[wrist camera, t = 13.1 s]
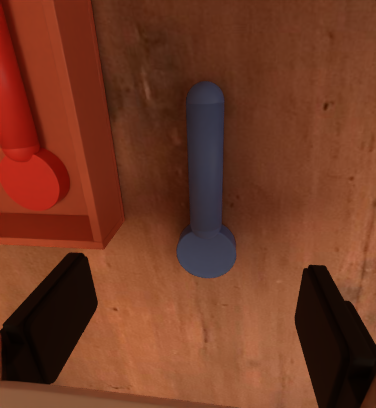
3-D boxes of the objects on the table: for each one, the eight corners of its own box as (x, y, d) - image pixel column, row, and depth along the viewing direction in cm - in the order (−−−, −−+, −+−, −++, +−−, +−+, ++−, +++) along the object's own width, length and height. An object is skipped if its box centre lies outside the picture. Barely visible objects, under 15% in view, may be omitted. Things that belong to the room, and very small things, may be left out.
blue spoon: (170, 82, 16) (162, 82, 14) (243, 79, 16) (246, 79, 14) (180, 265, 22) (176, 283, 20) (234, 268, 21) (235, 287, 19)
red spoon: (-51, -22, 15) (-93, -37, 13) (20, -29, 14) (-13, -46, 12) (23, 202, 21) (1, 215, 19) (75, 203, 20) (59, 217, 18)
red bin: (-107, -55, 15) (-212, -96, 11) (79, -78, 13) (25, -134, 10) (-3, 215, 22) (-47, 242, 19) (125, 220, 21) (104, 249, 17)
